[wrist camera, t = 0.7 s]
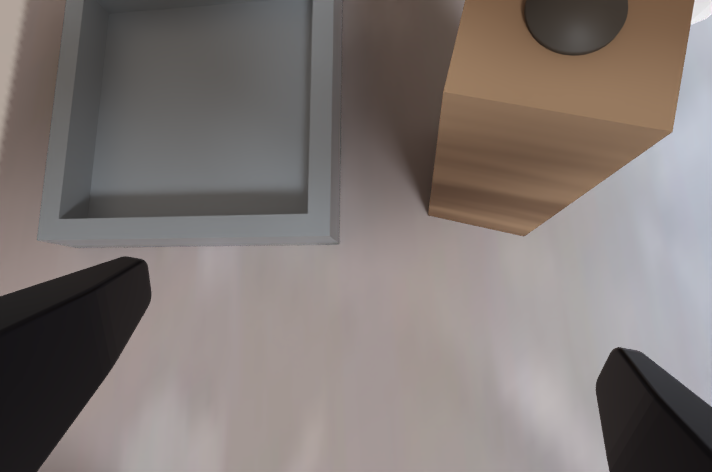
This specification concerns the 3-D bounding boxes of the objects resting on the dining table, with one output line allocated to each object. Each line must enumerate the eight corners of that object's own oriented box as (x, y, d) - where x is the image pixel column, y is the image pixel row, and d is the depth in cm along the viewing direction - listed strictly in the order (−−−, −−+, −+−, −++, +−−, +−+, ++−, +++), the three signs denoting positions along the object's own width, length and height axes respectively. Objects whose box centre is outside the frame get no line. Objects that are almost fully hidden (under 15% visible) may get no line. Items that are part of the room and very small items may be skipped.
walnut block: (524, 236, 21) (676, 128, 9) (428, 215, 22) (443, 88, 10) (542, 145, 22) (711, -77, 9) (448, 127, 22) (489, -100, 10)
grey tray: (339, 244, 22) (329, 236, 20) (75, 247, 24) (36, 240, 22) (342, -15, 24) (334, -52, 22) (101, 5, 26) (69, -26, 24)
